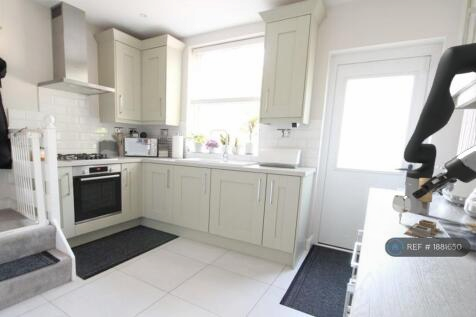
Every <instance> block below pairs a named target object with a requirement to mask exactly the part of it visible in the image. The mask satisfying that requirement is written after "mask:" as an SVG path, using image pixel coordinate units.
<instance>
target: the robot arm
mask: <svg viewBox="0 0 476 317" xmlns="http://www.w3.org/2000/svg"><path fill="white" fill-rule="evenodd" d="M435 71H436V72H435V74H434V79H433V82H432V84H431V85H432V86H431V87H430V90H429V93H428V96H427V98H426V101H425V103H424V105H423V108H422V110H421V113H420V115H419V118H418V120H417V124H416V125H415V129H414V130H413V133H412V134H411V136H410V138H409V140H408V143H407V144H406V146H405V148H404V151H403V159H404V161H405V162H407V163H411V164H421V166H419V167H417V168H414V169H410V170H407V172H406V176H405V190H404V196H406V197H409V198H410V202H411V208H410V211H409V212H408V213H411V214H415V215H420V216H424V217H429V215H430V205H431V202H428V204H427V215H422V214H420V212H421V201H418V199H419V198H421V197H422V196H424V195H426V194H427V193H430V192H431V191H433V193H436V192H438V191H442V190H444V189H445V188H448V187H449V186H452V185H454V184H457V182H458V181H460V182H462V183H465V184H468V183H470V182H472V181H475V180H476V144H475V145H472V146H470V147H469V148H467V149H465V150H463V151H462V152H460V153H459V154H457V155H456V156H454V157H453V158H451V159H449V160H447V161H446V162H445V163H444V168H445V169H446V171H445V172H439V173H438V174H436V175H434V173H435V166H436V160H437V147H436V145H435V144H432V143H424V141H425V140H427V139H428V138H429V137H431V136H433V135H434V134H436V133H437V132H439V131H441V130H442V129H443V128H445V127H446V125H448V122H449V121H450V120H451V117H452V115H453V114H454V112H455V108H456V105H455V102H454V101H455V100H454V99H453V96H452V93H451V90H450V88H451V86H452V82H453V80H454V79H455V76H456V75H464V74H469V73H475V74H476V42H472V43H467V44H466V43H465V44H459V45H453V46H449V47H447V49H445V50H444V51H443V53H442V54H441V57H440V58H439V61H438V64H437V67H436V70H435ZM433 175H434V176H433ZM419 178H429V179H430V180H428V181H427V182H426V183H424V184H423V185H421V187H422V188H420V189H419ZM427 186H429V187H430V189H429V188H428V187H427ZM418 189H419V190H418Z"/></svg>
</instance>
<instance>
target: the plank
mask: <svg viewBox="0 0 476 317" xmlns="http://www.w3.org/2000/svg"><path fill="white" fill-rule="evenodd" d="M440 229H441V228H438V227H437V222H435V221H432V220H428V219H427V220H426V219H424V218H423V219H420V220H419V221H418V223H417V222H415V223H414V224H413V225H412V226H410V228H409V229H407V230H406V231H405V232H404V233H403V235H404V236H405V235H406V236H410V237H413V238H416V237H418V238H417V239H419V238H427V237H433V238H434V237H435V236H436V235H437V233H439V231H440Z"/></svg>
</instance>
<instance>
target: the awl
mask: <svg viewBox="0 0 476 317" xmlns="http://www.w3.org/2000/svg"><path fill="white" fill-rule="evenodd" d="M428 180H430V179H429V178H419V189H420V188H422V187H421V185H423V184H424V183H426V182H427V181H428ZM427 187H428V188H429V189H430V187H429V186H427ZM419 189H418V190H419ZM433 193H434V192H433V191H431V192H430V193H427V194H426V195H424V196H422V197H421V198H419V199H418V201H421V212H420V214H422V215H421V216H424V215H427V204H428V202H430V203H432V202H433Z"/></svg>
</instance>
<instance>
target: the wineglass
mask: <svg viewBox="0 0 476 317" xmlns="http://www.w3.org/2000/svg"><path fill="white" fill-rule="evenodd" d="M391 206H392V209H393V211H395V212H397V213H399V214H398V219H399V221H398V224H402V223H401V222H402V221H401V220H402V217H403V214H406V213H410V212H409V211H410V208H411V202H410V198H409V197H406V196H405V195H399V194H397V195H395V194H394V196H393V198H392V203H391Z"/></svg>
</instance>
